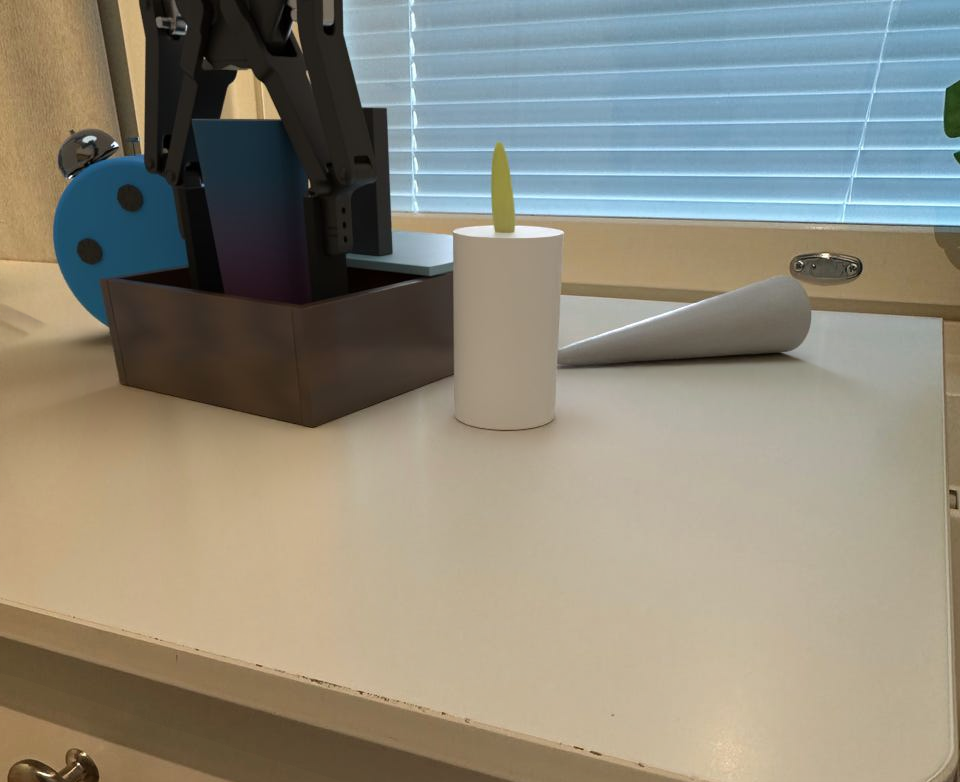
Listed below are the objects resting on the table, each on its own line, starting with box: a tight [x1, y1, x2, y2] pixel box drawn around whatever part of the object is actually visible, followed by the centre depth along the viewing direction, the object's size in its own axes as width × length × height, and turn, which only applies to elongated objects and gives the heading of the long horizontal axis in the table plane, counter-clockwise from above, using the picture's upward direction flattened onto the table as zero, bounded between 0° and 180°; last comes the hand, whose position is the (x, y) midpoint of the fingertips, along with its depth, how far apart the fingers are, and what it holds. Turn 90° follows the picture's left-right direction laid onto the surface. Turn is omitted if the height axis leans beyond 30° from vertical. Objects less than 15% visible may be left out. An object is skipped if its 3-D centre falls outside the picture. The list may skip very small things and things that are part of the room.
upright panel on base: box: [309, 106, 453, 276], centre depth 66 cm, size 17×15×10 cm
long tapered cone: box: [557, 274, 812, 366], centre depth 66 cm, size 6×6×19 cm
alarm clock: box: [52, 127, 204, 328], centre depth 70 cm, size 13×6×15 cm, turn 92°
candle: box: [452, 140, 565, 431], centre depth 52 cm, size 6×6×15 cm
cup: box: [192, 118, 312, 305], centre depth 57 cm, size 7×7×15 cm
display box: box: [99, 265, 454, 428], centre depth 66 cm, size 18×29×7 cm, turn 148°
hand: (269, 300), depth 59 cm, fingers open, 10 cm apart
